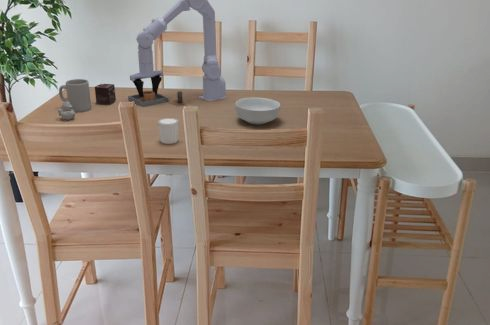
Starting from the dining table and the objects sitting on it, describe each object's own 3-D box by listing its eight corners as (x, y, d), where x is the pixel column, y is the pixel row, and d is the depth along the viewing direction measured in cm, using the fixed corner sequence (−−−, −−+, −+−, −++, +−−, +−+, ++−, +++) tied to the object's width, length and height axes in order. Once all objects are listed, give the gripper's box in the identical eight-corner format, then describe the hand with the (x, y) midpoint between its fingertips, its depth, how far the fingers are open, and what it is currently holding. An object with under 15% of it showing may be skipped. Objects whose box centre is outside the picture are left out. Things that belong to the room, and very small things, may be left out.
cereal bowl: (265, 132, 169) (266, 113, 167) (226, 123, 177) (226, 104, 174) (287, 119, 183) (288, 101, 180) (250, 111, 191) (250, 94, 188)
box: (109, 105, 194) (107, 87, 191) (96, 104, 195) (94, 86, 192) (116, 101, 199) (114, 84, 196) (103, 100, 200) (101, 83, 197)
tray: (153, 96, 207) (152, 91, 206) (168, 102, 199) (168, 97, 198) (128, 101, 199) (128, 96, 198) (143, 108, 191) (143, 102, 190)
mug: (94, 106, 192) (91, 79, 188) (86, 112, 185) (83, 85, 180) (66, 104, 193) (62, 78, 189) (56, 111, 186) (52, 83, 181)
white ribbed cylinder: (159, 137, 163) (158, 117, 160) (179, 137, 163) (179, 117, 160) (157, 144, 156) (156, 124, 153) (179, 144, 157) (178, 124, 154)
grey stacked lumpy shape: (71, 122, 174) (68, 101, 171) (55, 120, 175) (51, 99, 172) (78, 117, 179) (76, 97, 176) (62, 116, 180) (60, 95, 177)
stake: (182, 99, 203) (182, 88, 201) (193, 104, 198) (193, 92, 196) (166, 103, 198) (166, 91, 196) (177, 107, 193) (177, 95, 191)
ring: (157, 101, 199) (157, 93, 197) (146, 103, 195) (145, 95, 194) (147, 96, 204) (147, 88, 202) (136, 99, 200) (135, 91, 199)
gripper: (156, 58, 199) (157, 90, 205) (124, 63, 190) (127, 96, 196) (165, 61, 195) (166, 93, 200) (134, 66, 186) (136, 99, 191)
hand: (148, 95), depth 198 cm, fingers open, 6 cm apart
